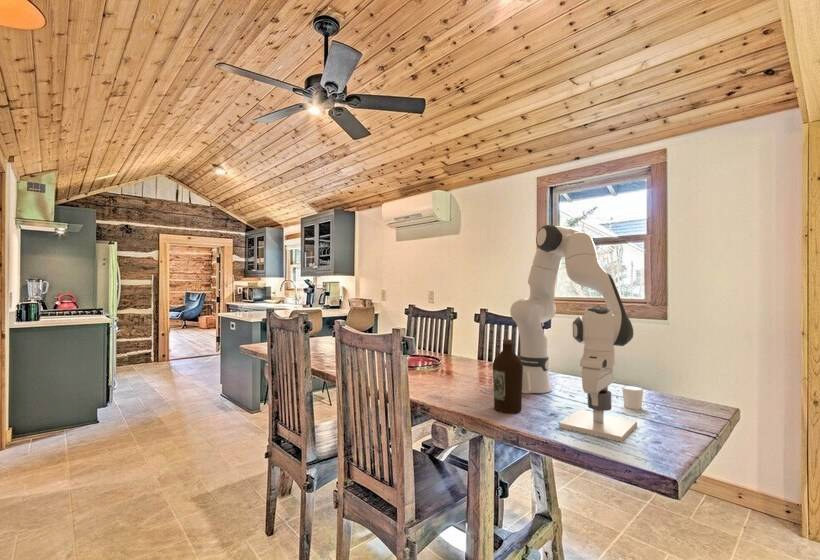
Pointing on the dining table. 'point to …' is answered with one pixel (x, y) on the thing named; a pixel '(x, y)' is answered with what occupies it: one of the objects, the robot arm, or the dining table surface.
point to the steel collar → (601, 401)
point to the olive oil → (507, 380)
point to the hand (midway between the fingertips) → (599, 402)
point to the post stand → (599, 424)
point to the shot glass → (632, 397)
